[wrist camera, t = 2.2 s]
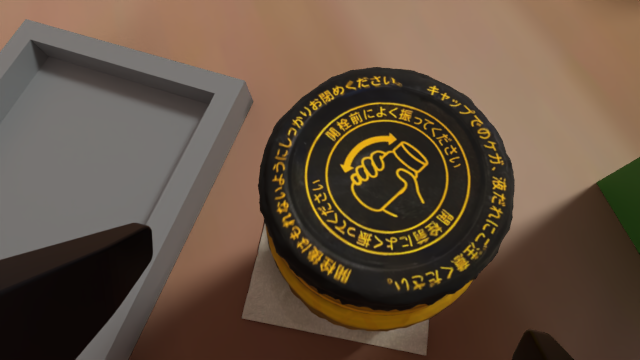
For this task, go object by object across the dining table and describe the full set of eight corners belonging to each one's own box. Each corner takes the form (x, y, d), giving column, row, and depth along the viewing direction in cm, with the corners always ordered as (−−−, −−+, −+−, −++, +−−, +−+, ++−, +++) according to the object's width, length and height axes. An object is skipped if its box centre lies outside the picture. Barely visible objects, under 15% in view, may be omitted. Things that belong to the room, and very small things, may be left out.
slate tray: (117, 382, 18) (90, 388, 16) (-119, 272, 20) (-167, 266, 18) (253, 101, 22) (245, 80, 21) (49, 42, 25) (25, 19, 23)
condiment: (425, 355, 17) (573, 402, 6) (242, 318, 18) (79, 299, 7) (438, 200, 20) (560, 31, 9) (276, 175, 21) (196, -5, 10)
